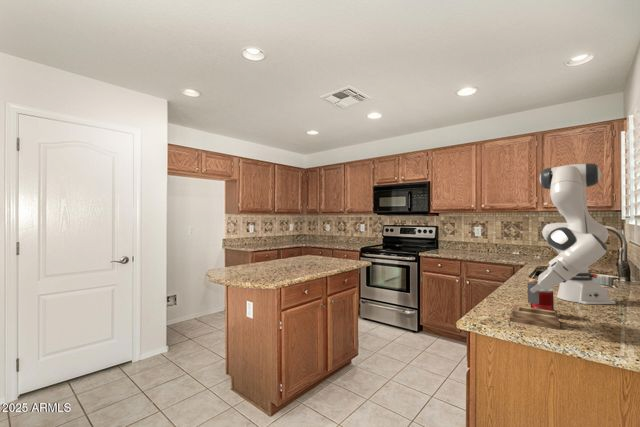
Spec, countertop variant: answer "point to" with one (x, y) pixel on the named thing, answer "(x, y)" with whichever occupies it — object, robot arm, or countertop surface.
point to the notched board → (556, 326)
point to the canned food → (545, 300)
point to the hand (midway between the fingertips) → (531, 290)
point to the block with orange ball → (533, 296)
